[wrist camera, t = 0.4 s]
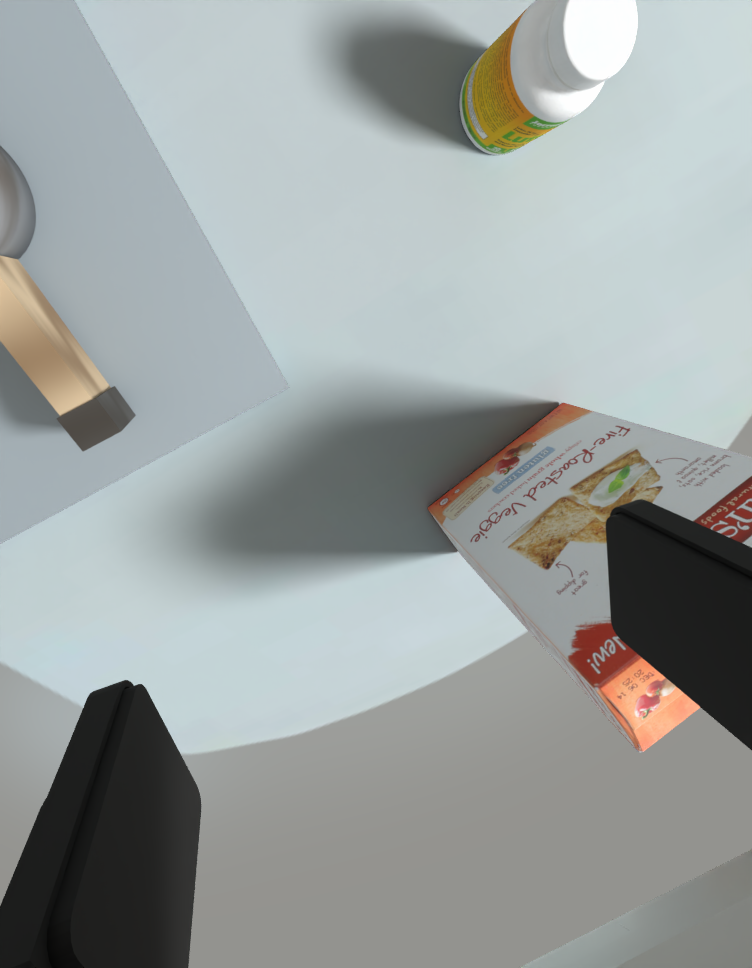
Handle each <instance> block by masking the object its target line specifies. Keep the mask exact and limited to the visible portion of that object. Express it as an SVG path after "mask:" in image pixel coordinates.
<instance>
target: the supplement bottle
mask: <svg viewBox="0 0 752 968" xmlns="http://www.w3.org/2000/svg"><path fill="white" fill-rule="evenodd" d="M637 26H638V16H637V7H636V3H635V0H536V1H535V2H533V3H532V4H531V5H530V6H529V7H528V8H527V9H526V10H525V11H524V12H523V13H522V14H521V15H520V16H519V17H518V18H517V20H516V21H515V22H514V23H513V24H512V25H511V26H510V27H509V28H508V29H507V30H506V31H505V32H504V33H503V34H502V35H501V36H500V37H499V38H498V39H497V40H496V41H495V42H494V43H493V44H492V45H491V46H490V47H489V48H488V49H487V50H486V51H485V52H484V53H483V54H482V55H481V56H480V57H479V58H478V59H477V61H476V62H475V63H474V64H473V65H472V67H471V68H470V70H469V71H468V73H467V75H466V77H465V79H464V81H463V84H462V88H461V93H460V101H459V106H460V115H461V121H462V124H463V127H464V130H465V132H466V134H467V136H468V137H469V139H470V140H471V141H472V142H473V144H474V145H475V146H476V147H478V148H479V149H480V150H482V151H483V152H486V153H488V154H492V155H503V154H507V153H510V152H512V151H514V150H516V149H518V148H520V147H522V146H524V145H525V144H527V143H529V142H531V141H532V140H534V139H536V138H538V137H540V136H542V135H543V134H545V133H547V132H549V131H550V130H552V129H554V128H556V127H557V126H559V125H561V124H563V123H564V122H566V121H568V120H570V119H572V118H573V117H575V116H576V115H578V114H579V113H581V112H582V111H583V110H585V109H586V108H587V107H588V106H589V105H590V104H591V103H592V101H593V100H594V99H595V98H596V96H597V95H598V93H599V92H600V90H601V88H602V86H603V84H604V81H606V80H607V79H609V78H610V77H612V76H613V75H614V74H616V73H617V72H618V71H619V70H620V69H621V68H622V66H623V65H624V64H625V62H626V61H627V59H628V58H629V56H630V54H631V51H632V49H633V46H634V43H635V39H636V34H637Z"/></svg>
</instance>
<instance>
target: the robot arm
mask: <svg viewBox="0 0 752 968" xmlns="http://www.w3.org/2000/svg"><path fill="white" fill-rule="evenodd" d="M606 542H607V560H608V577H609V595H610V613H611V624H612V627H613V630H614V632H615V633H616V635H617V636H618V637H619V638H620V639H621V640H622V641H623V642H624V643H625V644H626V645H627V646H629V647H630V648H631V649H632V650H633V651H635V652H636V653H637V654H638V655H639V656H640V657H642V658H643V659H644V660H645V661H646V662H648V663H649V664H650V665H651V666H652V667H654V668H655V669H656V670H657V671H658V672H659V673H661V674H662V675H663V676H664V677H665V678H667V679H668V680H669V681H670V682H671V683H673V684H674V685H675V686H676V687H677V688H678V689H680V690H681V691H682V692H683V693H684V694H686V695H687V696H688V697H689V698H690V699H691V700H693V701H694V702H695V703H696V704H697V705H699V706H700V707H701V708H702V709H703V710H705V711H706V712H707V713H708V714H709V715H710V716H712V717H713V718H714V719H715V720H717V721H718V722H719V723H720V724H721V725H722V726H724V727H725V728H726V729H727V730H728V731H729V732H731V733H732V734H733V735H734V736H735V737H737V738H738V739H739V740H740V741H741V742H742V743H744V744H745V745H746V746H747V747H748V748H750V749H751V750H752V547H750V546H747V545H745V544H743V543H741V542H738V541H736V540H734V539H732V538H729V537H727V536H725V535H723V534H720V533H718V532H716V531H714V530H711V529H709V528H707V527H705V526H702V525H700V524H698V523H696V522H693V521H691V520H689V519H687V518H684V517H682V516H680V515H678V514H676V513H673V512H671V511H669V510H667V509H664V508H662V507H660V506H658V505H655V504H653V503H651V502H649V501H646V500H643V499H639V500H635V501H632V502H629V503H626V504H624V505H621V506H618V507H615V508H614V509H613V510H612V511H611V513H610V517H609V518H608V519H607V520H606ZM200 817H201V798H200V793H199V790H198V787H197V785H196V783H195V781H194V779H193V777H192V775H191V773H190V771H189V770H188V768H187V766H186V764H185V762H184V760H183V758H182V756H181V754H180V752H179V751H178V749H177V747H176V745H175V743H174V741H173V739H172V737H171V735H170V733H169V732H168V730H167V728H166V726H165V724H164V722H163V720H162V718H161V716H160V714H159V713H158V711H157V709H156V707H155V705H154V703H153V701H152V699H151V697H150V695H149V694H148V692H147V690H146V688H145V687H144V686H143V685H142V684H138V685H135V686H134V685H133V684H132V683H131V682H130V681H128V680H124V681H121V682H119V683H116V684H113V685H110V686H107V687H104V688H102V689H99V690H96V691H93V692H92V693H90V695H89V696H88V698H87V700H86V703H85V705H84V708H83V710H82V713H81V715H80V718H79V720H78V722H77V725H76V728H75V730H74V732H73V735H72V737H71V740H70V742H69V745H68V747H67V750H66V752H65V754H64V757H63V759H62V762H61V764H60V767H59V769H58V772H57V774H56V777H55V779H54V782H53V784H52V787H51V789H50V791H49V794H48V796H47V798H46V799H45V801H44V803H43V805H42V807H41V809H40V811H39V813H38V816H37V818H36V821H35V823H34V826H33V828H32V830H31V833H30V835H29V838H28V840H27V843H26V845H25V847H24V850H23V852H22V855H21V857H20V860H19V862H18V864H17V867H16V869H15V872H14V874H13V877H12V879H11V881H10V884H9V886H8V889H7V891H6V894H5V896H4V898H3V901H2V904H1V906H0V968H188V963H189V951H190V939H191V926H192V915H193V903H194V890H195V877H196V865H197V854H198V842H199V830H200ZM520 968H752V850H750V851H748V852H746V853H744V854H742V855H740V856H738V857H736V858H734V859H732V860H730V861H728V862H726V863H724V864H722V865H720V866H718V867H716V868H714V869H712V870H710V871H708V872H706V873H704V874H702V875H700V876H698V877H696V878H694V879H692V880H690V881H688V882H686V883H684V884H683V885H681V886H679V887H677V888H675V889H673V890H671V891H669V892H667V893H665V894H663V895H661V896H659V897H657V898H655V899H653V900H651V901H649V902H647V903H645V904H643V905H641V906H639V907H637V908H635V909H633V910H631V911H629V912H627V913H625V914H624V915H622V916H620V917H618V918H616V919H614V920H612V921H610V922H608V923H606V924H604V925H602V926H600V927H598V928H596V929H594V930H592V931H590V932H588V933H586V934H584V935H582V936H581V937H578V938H576V939H574V940H573V941H571V942H569V943H567V944H565V945H563V946H561V947H559V948H557V949H555V950H553V951H551V952H549V953H547V954H545V955H543V956H541V957H539V958H537V959H535V960H533V961H532V962H529V963H528V964H526V965H524V966H522V967H520Z"/></svg>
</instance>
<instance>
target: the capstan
mask: <svg viewBox="0 0 752 968" xmlns="http://www.w3.org/2000/svg"><path fill="white" fill-rule="evenodd" d="M35 225H36V211H35V204H34V199H33V195H32V192H31V189H30V187H29V185H28V182H27V180H26V178H25V176H24V175H23V173H22V171H21V170H20V168H19V166H18V165H17V164H16V162H15V161H14V160H13V158H12V157H11V156H10V155H9V154H8V153H7V152H6V151H5V150H4V149H3V148H2V147H1V146H0V341H1V342H2V344H3V345H4V346H5V347H6V349H7V350H8V351H9V352H10V354H11V355H12V356H13V357H14V359H15V360H16V361H17V362H18V364H19V365H20V366H21V367H22V369H23V370H24V371H25V373H26V374H27V375H28V376H29V378H30V379H31V380H32V381H33V383H34V384H35V385H36V386H37V388H38V389H39V390H40V391H41V393H42V394H43V395H44V396H45V398H46V399H47V400H48V401H49V403H50V404H51V405H52V406H53V408H54V409H55V410H56V411H57V413H58V414H59V415H60V417H58V418H57V420H58V422H59V423H60V424H61V425H62V427H63V428H64V429H65V430H66V432H67V433H68V434H69V435H70V437H71V438H72V439H73V440H74V441H75V443H76V444H77V445H78V446H79V448H80V449H81V450H82V451H83V452H84V451H85V450H87V449H89V448H91V447H93V446H95V445H97V444H99V443H100V442H102V441H104V440H106V439H108V438H110V437H112V436H114V435H115V434H117V433H119V432H121V431H122V430H123V429H124V428H125V427H126V426H127V425H128V424H129V422H130V421H131V420H132V419H133V418H134V417H135V416H136V415H135V413H134V412H133V411H132V409H131V408H130V406H129V405H128V404H127V402H126V401H125V399H124V398H123V397H122V395H121V394H120V393H119V391H118V390H117V388H116V387H115V386H113V387H112V388H111V387H110V385H109V384H108V383H107V381H106V380H105V379H104V377H103V376H102V374H101V373H100V372H99V370H98V369H97V368H96V366H95V365H94V363H93V362H92V361H91V359H90V358H89V357H88V355H87V354H86V352H85V351H84V350H83V348H82V347H81V346H80V344H79V343H78V341H77V340H76V339H75V337H74V336H73V335H72V333H71V332H70V330H69V329H68V328H67V326H66V325H65V324H64V322H63V321H62V319H61V318H60V317H59V315H58V314H57V313H56V311H55V310H54V308H53V307H52V306H51V304H50V303H49V302H48V300H47V299H46V297H45V296H44V295H43V293H42V292H41V291H40V289H39V288H38V286H37V285H36V284H35V282H34V281H33V280H32V278H31V277H30V275H29V274H28V273H27V271H26V270H25V269H24V267H23V266H22V264H21V263H20V262H19V260H18V259H20V258H21V256H22V255H23V254H24V253H25V252H26V250H27V249H28V247H29V245H30V243H31V241H32V238H33V235H34V231H35Z"/></svg>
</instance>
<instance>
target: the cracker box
mask: <svg viewBox="0 0 752 968" xmlns="http://www.w3.org/2000/svg"><path fill="white" fill-rule="evenodd" d="M639 499H643V500H646V501H649V502H651V503H653V504H655V505H658V506H660V507H662V508H664V509H667V510H669V511H671V512H673V513H676V514H678V515H680V516H682V517H684V518H687V519H689V520H691V521H693V522H696V523H698V524H700V525H702V526H705V527H707V528H709V529H711V530H714V531H716V532H718V533H720V534H723V535H725V536H727V537H729V538H732V539H734V540H736V541H738V542H741V543H743V544H745V545H747V546H750V547H752V457H749V456H746V455H743V454H739V453H735V452H732V451H729V450H725V449H722V448H718V447H715V446H711V445H708V444H705V443H701V442H698V441H694V440H691V439H687V438H684V437H681V436H677V435H674V434H670V433H667V432H663V431H660V430H656V429H653V428H649V427H646V426H642V425H639V424H635V423H632V422H628V421H625V420H621V419H618V418H615V417H612V416H608V415H605V414H601V413H598V412H594V411H590V410H587V409H584V408H580V407H576V406H573V405H569V404H566V403H561V404H560V405H559V406H558V407H557V408H555V409H554V410H553V411H552V412H550V413H549V414H548V415H547V416H545V417H544V418H543V419H541V420H540V421H539V422H537V423H536V424H535V425H534V426H532V427H531V428H530V429H529V430H527V431H526V432H525V433H524V434H522V435H521V436H520V437H518V438H517V439H516V440H514V441H513V442H512V443H511V444H509V445H508V446H507V447H505V448H504V449H503V450H502V451H500V452H499V453H498V454H496V455H495V456H494V457H492V458H491V459H490V460H489V461H487V462H486V463H485V464H483V465H482V466H481V467H480V468H478V469H477V470H476V471H474V472H473V473H472V474H470V475H469V476H468V477H467V478H465V479H464V480H463V481H461V482H460V483H459V484H458V485H456V486H455V487H454V488H452V489H451V490H450V491H448V492H447V493H446V494H445V495H443V496H442V497H441V498H439V499H438V500H437V501H435V502H434V503H433V504H432V505H430V506H429V507H428V510H429V512H430V513H431V514H432V516H433V517H434V519H435V520H436V521H437V523H438V524H439V526H440V527H441V528H442V530H443V531H444V533H445V534H446V535H447V537H448V538H449V539H450V541H451V542H452V543H453V545H454V546H455V547H456V549H457V550H458V551H459V553H460V554H461V555H462V556H463V558H464V559H465V560H466V561H467V562H468V564H469V565H470V566H471V567H472V568H473V569H474V570H475V571H476V573H477V574H478V575H479V576H480V577H481V578H482V579H483V580H484V582H485V583H486V584H487V585H488V586H489V587H490V588H491V589H492V591H493V592H494V593H495V594H496V595H497V596H498V597H499V598H500V599H501V601H502V602H503V603H504V604H505V605H506V606H507V607H508V608H509V610H510V611H511V612H512V613H513V614H514V615H515V616H516V617H517V619H518V620H519V621H520V622H521V623H522V624H523V625H524V626H525V627H526V629H527V630H528V631H529V632H530V633H531V634H532V635H533V636H534V637H535V638H536V640H537V641H538V642H539V643H540V644H541V645H542V646H543V647H544V648H545V650H546V651H547V652H548V653H549V654H550V655H551V656H552V657H553V659H554V660H555V661H556V662H557V663H558V664H559V665H560V666H561V667H562V668H563V669H564V670H565V672H566V673H567V674H568V675H569V676H570V677H571V678H572V680H573V681H575V683H576V684H577V685H578V686H579V687H580V688H581V689H582V690H583V691H584V693H585V694H586V695H587V696H588V697H589V698H590V699H591V700H592V701H593V702H594V703H595V705H596V706H597V707H598V708H599V709H600V710H601V711H602V713H603V714H604V715H605V716H606V717H607V718H608V719H609V720H610V721H611V723H612V724H613V725H614V726H615V727H616V728H617V729H618V730H619V731H620V732H621V734H623V736H624V737H625V738H626V739H627V740H628V741H629V742H630V743H631V745H632V746H633V747H634V748H635V749H636V750H637V752H643V751H645V750H646V749H647V748H649V747H650V746H651V745H652V744H654V743H655V742H657V741H658V740H659V739H660V738H662V737H663V736H664V735H665V734H667V733H668V732H669V731H671V730H672V729H673V728H675V727H676V726H677V725H678V724H680V723H681V722H682V721H684V720H685V719H686V718H687V717H689V716H690V715H691V714H692V713H694V712H695V711H696V710H697V709H699V708H700V706H699V705H697V704H696V703H695V702H694V701H693V700H691V699H690V698H689V697H688V696H687V695H686V694H684V693H683V692H682V691H681V690H680V689H678V688H677V687H676V686H675V685H674V684H673V683H671V682H670V681H669V680H668V679H667V678H665V677H664V676H663V675H662V674H661V673H659V672H658V671H657V670H656V669H655V668H654V667H652V666H651V665H650V664H649V663H648V662H646V661H645V660H644V659H643V658H642V657H640V656H639V655H638V654H637V653H636V652H635V651H633V650H632V649H631V648H630V647H629V646H627V645H626V644H625V643H624V642H623V641H622V640H621V639H620V638H619V637H618V636H617V635H616V633H615V632H614V630H613V627H612V624H611V613H610V595H609V577H608V560H607V542H606V520H607V519H608V518H609V517H610V513H611V511H612V510H613V509H614V508H615V507H618V506H621V505H624V504H626V503H629V502H632V501H635V500H639Z"/></svg>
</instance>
